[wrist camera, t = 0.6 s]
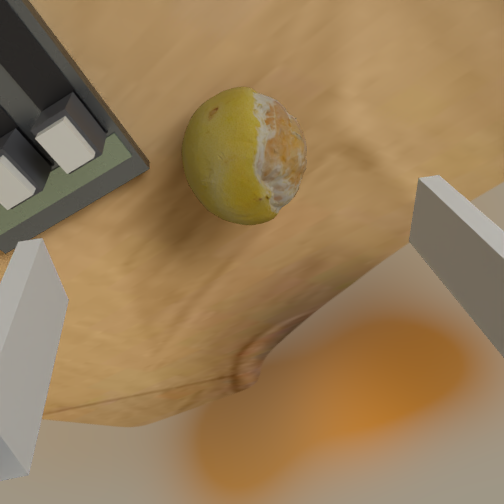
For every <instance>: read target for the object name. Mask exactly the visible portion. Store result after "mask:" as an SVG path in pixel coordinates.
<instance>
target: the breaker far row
mask: <svg viewBox="0 0 504 504" xmlns="http://www.w3.org/2000/svg"><path fill="white" fill-rule="evenodd" d="M30 131H31V132H32V133H33V134H34V135H35V136H36V137H35V139H36V140H37V141H38V142H39V144H40V145H41V146H42V147H43V148H44V149H45V150H46V151H47V152H48V153H49V155H50V156H51V157H52V158H53V159H54V160H55V161H56V162H57V163H58V165H59V166H60V167H61V168H62V169H63V170H64V171H65V172H66V173H67V174H68V173H69V174H71V173H73V172H74V171H76V170H78V169H79V168H81V167H83V166H84V165H86V164H87V163H89V162H91V161H92V160H94V159H96V158H97V157H99V156H101V155H102V154H103V149H104V144H105V140H106V133H105V132H104V131H103V129H102V128H101V127H100V126H99V124H98V123H97V122H96V121H95V119H94V118H93V117H92V115H91V114H90V113H89V112H88V110H87V109H86V108H85V107H84V105H83V104H82V103H81V101H80V100H79V99H78V98H77V96H76V95H75V94H74V93H73V92H72V93H70V94H69V95H67V96H65V97H64V98H62V99H61V100H59V101H58V102H56V103H54V104H53V105H51V106H50V107H48V108H47V109H45V110H43V111H42V112H41V113H40V115H39V117H38V118H37V120H36V122H35V123H34V125H33V127H32V128H31V130H30Z"/></svg>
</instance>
